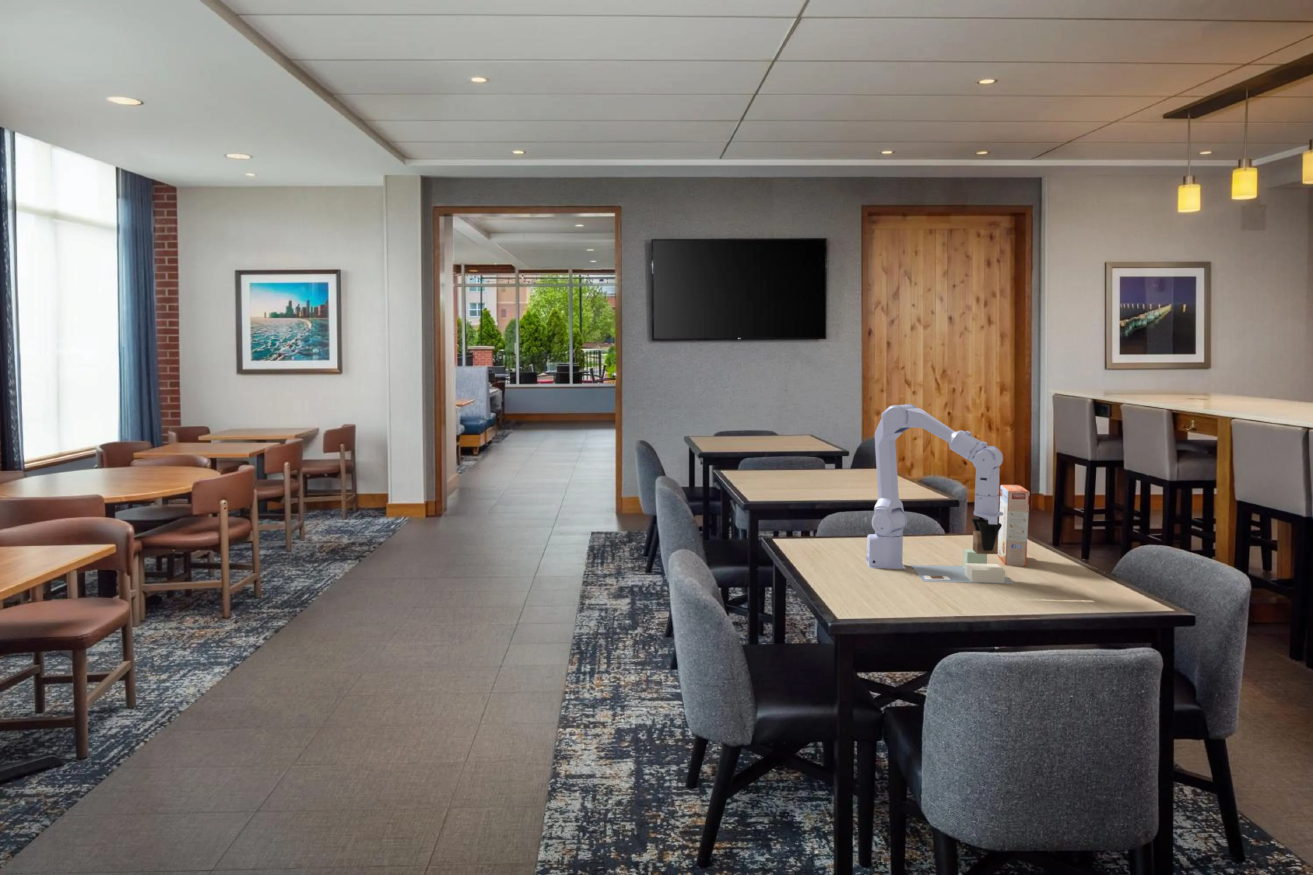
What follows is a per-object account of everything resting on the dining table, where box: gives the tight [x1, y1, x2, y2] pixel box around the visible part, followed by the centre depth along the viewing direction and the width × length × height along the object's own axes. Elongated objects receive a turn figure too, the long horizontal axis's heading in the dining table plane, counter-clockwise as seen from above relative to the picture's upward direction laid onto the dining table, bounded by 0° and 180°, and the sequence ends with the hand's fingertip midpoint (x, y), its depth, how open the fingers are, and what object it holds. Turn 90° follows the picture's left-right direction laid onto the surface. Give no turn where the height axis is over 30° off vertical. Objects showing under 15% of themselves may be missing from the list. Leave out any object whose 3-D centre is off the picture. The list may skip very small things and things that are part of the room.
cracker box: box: [997, 484, 1030, 567], centre depth 271 cm, size 14×6×21 cm, turn 168°
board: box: [910, 564, 1014, 585], centre depth 255 cm, size 22×20×1 cm
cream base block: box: [965, 563, 1006, 582], centre depth 249 cm, size 8×8×3 cm
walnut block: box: [972, 530, 999, 555], centre depth 248 cm, size 5×5×5 cm
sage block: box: [962, 548, 988, 569], centre depth 260 cm, size 5×5×5 cm
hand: (985, 548), depth 249 cm, fingers closed on walnut block, 5 cm apart
